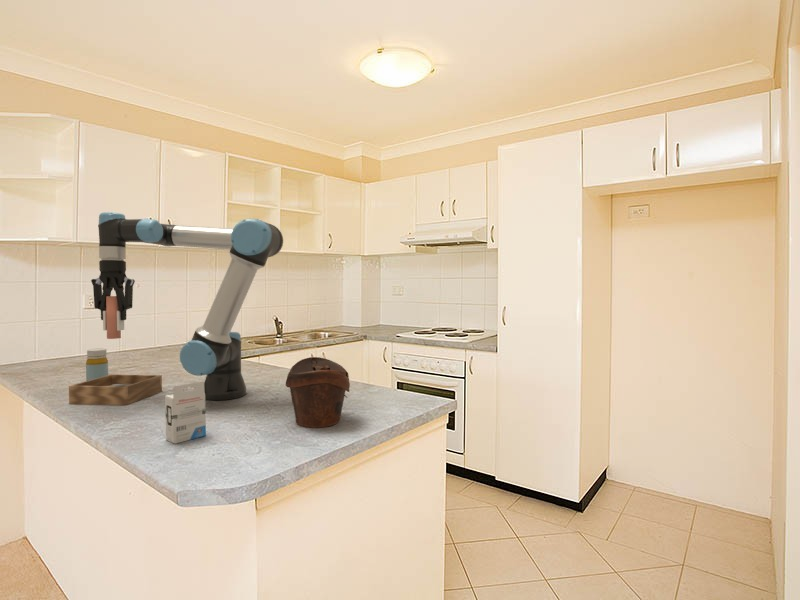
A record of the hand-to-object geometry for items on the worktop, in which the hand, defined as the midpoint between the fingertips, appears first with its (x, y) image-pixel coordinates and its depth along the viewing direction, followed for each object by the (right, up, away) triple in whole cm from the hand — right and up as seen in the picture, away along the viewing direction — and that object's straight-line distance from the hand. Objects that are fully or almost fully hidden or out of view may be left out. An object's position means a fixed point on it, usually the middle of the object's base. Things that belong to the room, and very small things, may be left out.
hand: (113, 329), depth 153 cm
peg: (0, -3, 0) cm, 3 cm away
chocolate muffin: (+72, -26, -19) cm, 79 cm away
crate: (-4, -24, +9) cm, 26 cm away
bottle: (-20, -24, +22) cm, 38 cm away
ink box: (+40, -26, -34) cm, 58 cm away
